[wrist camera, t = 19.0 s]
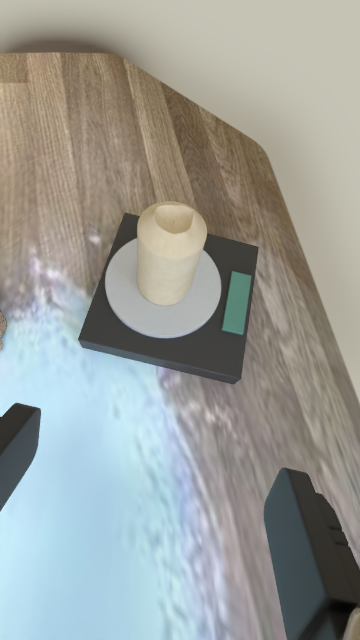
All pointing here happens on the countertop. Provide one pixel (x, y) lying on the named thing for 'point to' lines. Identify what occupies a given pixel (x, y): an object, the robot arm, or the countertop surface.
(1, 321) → the figurine
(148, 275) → the candle
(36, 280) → the countertop surface
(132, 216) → the kitchen scale
